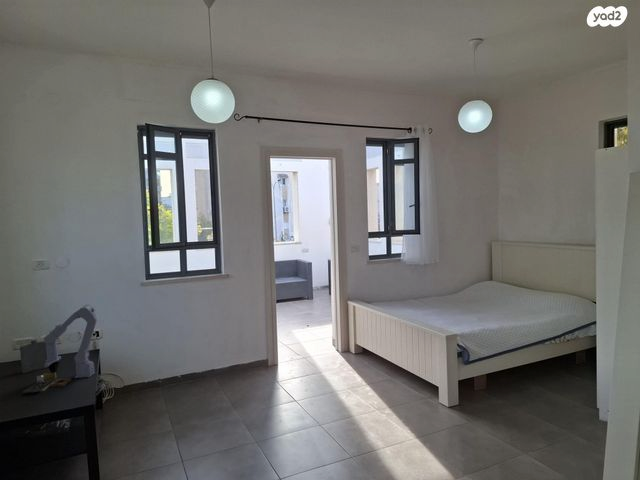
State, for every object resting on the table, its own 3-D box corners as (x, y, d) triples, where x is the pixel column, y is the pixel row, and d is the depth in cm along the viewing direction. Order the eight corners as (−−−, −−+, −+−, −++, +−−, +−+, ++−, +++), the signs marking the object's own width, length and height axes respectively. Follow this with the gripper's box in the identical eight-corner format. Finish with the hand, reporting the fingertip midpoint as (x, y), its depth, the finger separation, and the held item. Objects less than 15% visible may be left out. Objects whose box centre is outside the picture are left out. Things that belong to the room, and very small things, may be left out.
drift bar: (43, 379, 258) (43, 373, 258) (57, 378, 259) (56, 372, 259) (23, 392, 238) (22, 386, 238) (37, 391, 239) (37, 384, 239)
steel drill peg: (46, 386, 251) (45, 374, 250) (42, 388, 247) (41, 376, 247) (39, 386, 250) (38, 375, 250) (36, 388, 247) (35, 377, 247)
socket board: (54, 383, 255) (54, 381, 255) (43, 392, 243) (43, 389, 243) (39, 385, 255) (39, 382, 254) (26, 393, 243) (26, 390, 242)
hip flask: (22, 373, 277) (19, 343, 276) (21, 371, 280) (18, 342, 279) (50, 366, 288) (48, 337, 287) (49, 365, 291) (47, 336, 290)
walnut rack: (71, 381, 258) (70, 378, 258) (64, 386, 250) (63, 383, 250) (57, 382, 257) (57, 379, 257) (50, 387, 249) (49, 384, 249)
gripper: (52, 349, 269) (53, 370, 270) (38, 357, 254) (40, 379, 255) (63, 348, 269) (65, 369, 270) (50, 356, 255) (52, 378, 256)
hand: (54, 374), depth 263 cm, fingers closed
